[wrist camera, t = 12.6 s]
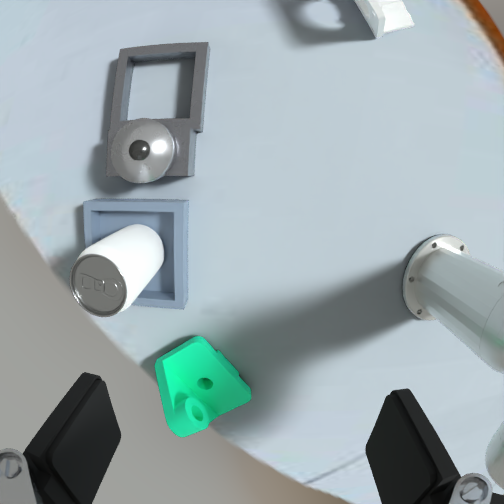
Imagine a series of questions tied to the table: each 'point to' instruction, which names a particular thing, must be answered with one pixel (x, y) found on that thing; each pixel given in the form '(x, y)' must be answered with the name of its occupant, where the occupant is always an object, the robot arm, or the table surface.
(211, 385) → the camera mount
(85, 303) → the can
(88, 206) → the tray
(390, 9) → the mounting bracket
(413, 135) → the table surface
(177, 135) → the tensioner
